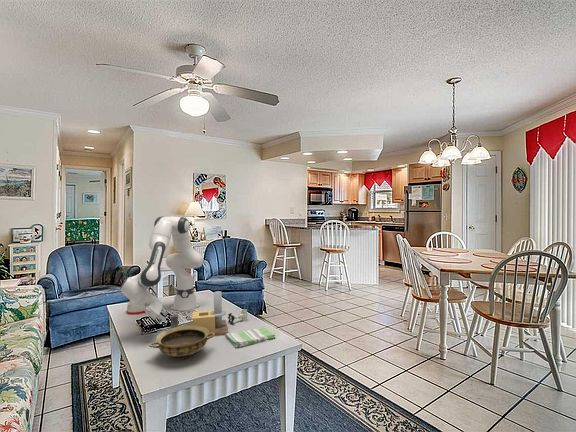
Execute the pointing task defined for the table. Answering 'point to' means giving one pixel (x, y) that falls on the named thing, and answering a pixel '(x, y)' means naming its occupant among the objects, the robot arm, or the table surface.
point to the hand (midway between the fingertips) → (165, 317)
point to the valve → (242, 315)
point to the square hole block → (210, 315)
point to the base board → (216, 329)
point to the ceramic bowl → (182, 340)
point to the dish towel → (249, 337)
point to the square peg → (174, 321)
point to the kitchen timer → (134, 309)
